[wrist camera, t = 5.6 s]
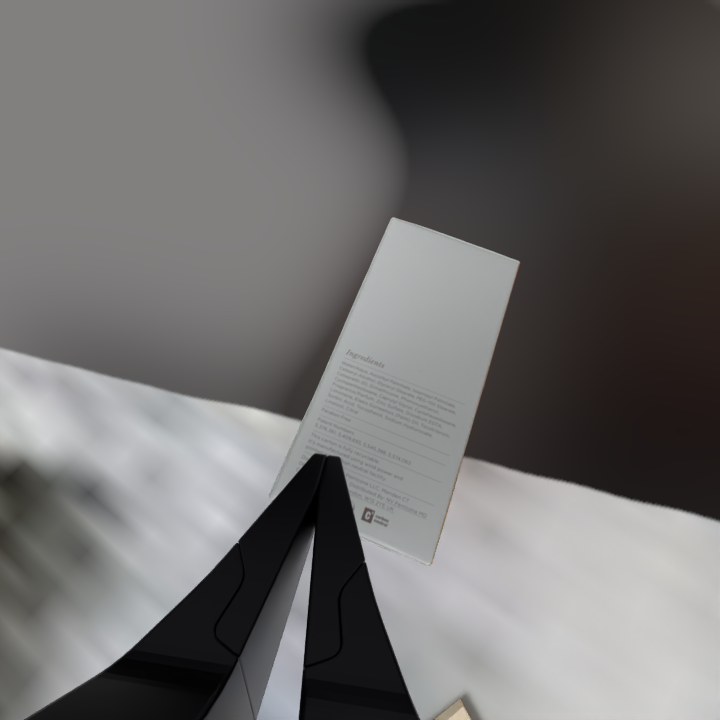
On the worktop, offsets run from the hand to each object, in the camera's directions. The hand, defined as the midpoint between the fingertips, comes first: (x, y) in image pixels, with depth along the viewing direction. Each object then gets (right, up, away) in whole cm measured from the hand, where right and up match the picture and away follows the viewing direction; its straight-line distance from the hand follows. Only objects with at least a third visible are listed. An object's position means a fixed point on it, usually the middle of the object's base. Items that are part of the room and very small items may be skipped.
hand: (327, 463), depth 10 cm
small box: (0, -4, +5) cm, 6 cm away
